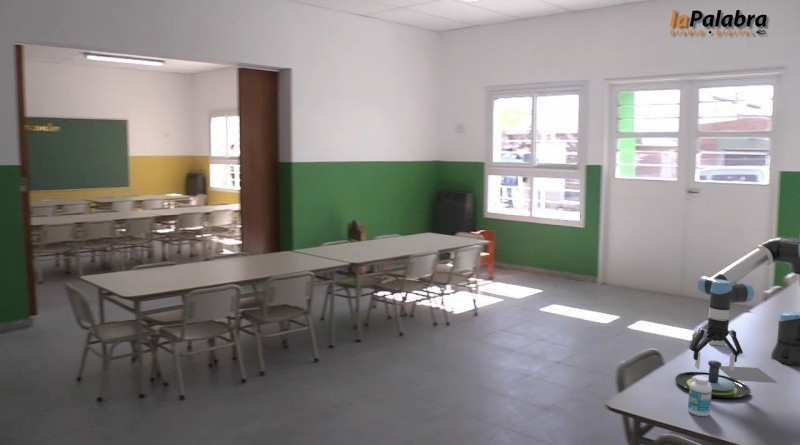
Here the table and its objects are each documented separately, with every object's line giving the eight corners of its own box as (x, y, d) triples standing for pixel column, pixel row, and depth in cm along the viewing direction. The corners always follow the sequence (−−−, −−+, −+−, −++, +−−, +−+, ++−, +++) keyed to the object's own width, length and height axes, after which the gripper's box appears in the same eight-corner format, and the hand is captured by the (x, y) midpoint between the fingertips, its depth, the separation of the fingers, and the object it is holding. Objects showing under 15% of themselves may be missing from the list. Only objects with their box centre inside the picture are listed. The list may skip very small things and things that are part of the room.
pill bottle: (683, 408, 242) (686, 374, 240) (702, 408, 242) (705, 374, 241) (694, 417, 234) (697, 381, 233) (713, 417, 235) (716, 381, 233)
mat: (757, 369, 288) (757, 367, 288) (777, 383, 270) (777, 382, 270) (716, 366, 290) (716, 365, 290) (733, 381, 272) (733, 380, 272)
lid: (725, 377, 271) (727, 357, 270) (741, 392, 255) (743, 370, 254) (686, 375, 272) (687, 355, 271) (699, 389, 257) (701, 368, 255)
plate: (719, 407, 245) (720, 401, 245) (659, 382, 270) (660, 376, 269) (765, 396, 258) (765, 390, 258) (704, 373, 283) (704, 367, 282)
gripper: (746, 317, 263) (741, 367, 266) (683, 314, 265) (679, 363, 268) (754, 322, 256) (749, 373, 258) (690, 319, 258) (686, 369, 260)
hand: (714, 368), depth 263 cm, fingers open, 13 cm apart
